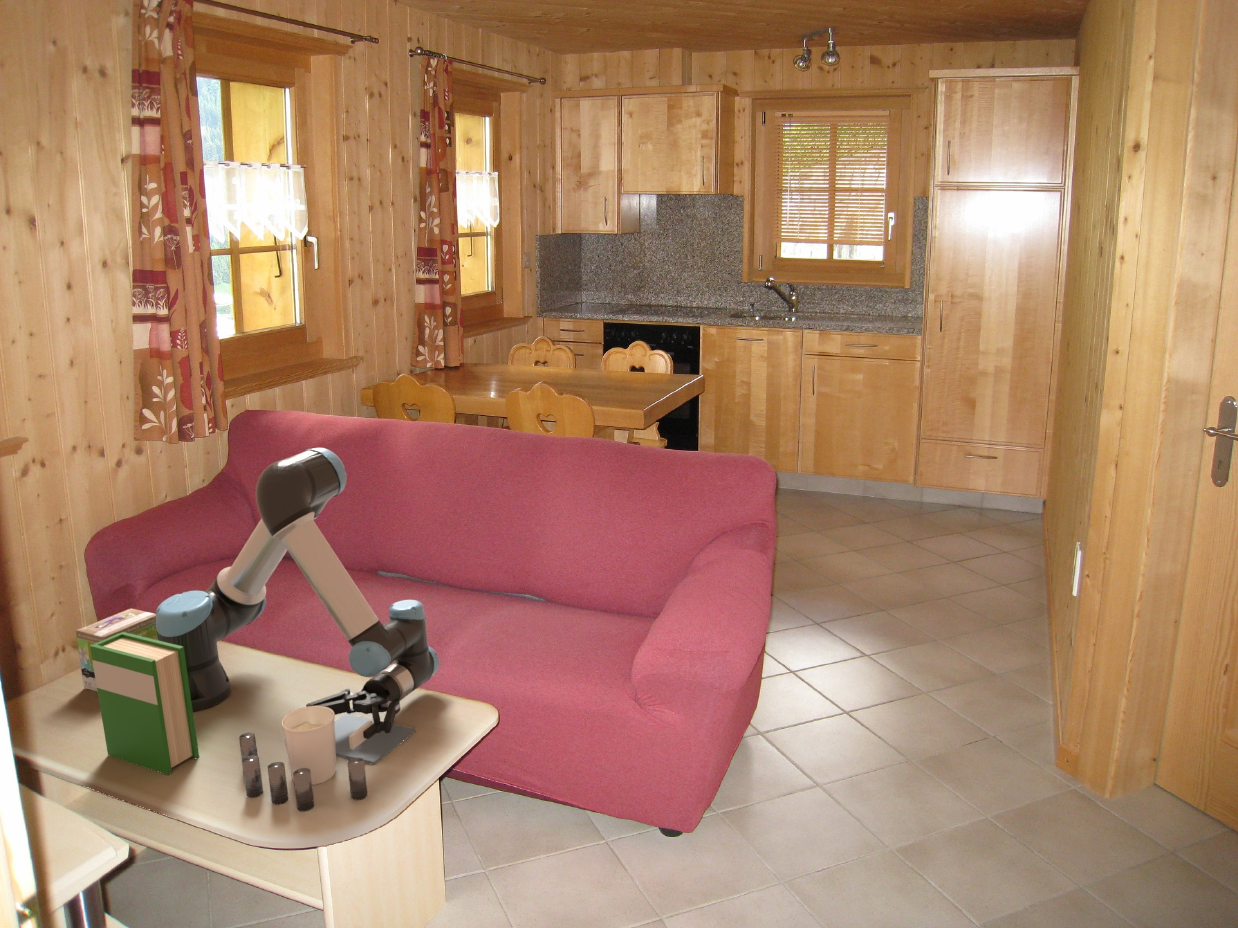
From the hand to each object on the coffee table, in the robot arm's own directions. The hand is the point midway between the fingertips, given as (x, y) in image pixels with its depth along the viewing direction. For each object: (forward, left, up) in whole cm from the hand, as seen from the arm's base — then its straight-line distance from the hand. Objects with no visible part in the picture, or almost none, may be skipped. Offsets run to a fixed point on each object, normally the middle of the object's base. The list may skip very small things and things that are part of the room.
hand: (322, 736), depth 195 cm
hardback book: (-36, -9, -7) cm, 38 cm away
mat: (-1, +11, -7) cm, 13 cm away
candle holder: (-1, -3, -7) cm, 7 cm away
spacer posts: (-1, -9, -7) cm, 11 cm away
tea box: (-71, +14, -7) cm, 72 cm away
